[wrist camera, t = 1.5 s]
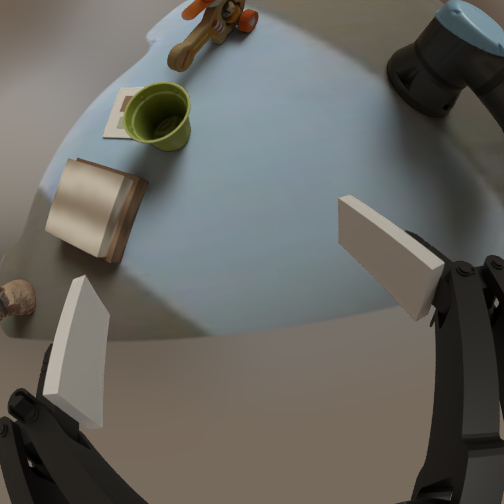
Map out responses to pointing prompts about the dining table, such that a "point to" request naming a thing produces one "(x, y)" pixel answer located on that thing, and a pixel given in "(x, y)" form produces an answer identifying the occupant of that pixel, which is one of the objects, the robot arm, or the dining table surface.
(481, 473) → the robot arm
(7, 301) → the figurine
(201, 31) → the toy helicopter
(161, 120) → the plant pot
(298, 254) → the dining table surface
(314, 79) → the dining table surface
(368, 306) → the dining table surface
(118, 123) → the page
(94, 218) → the stacked square slabs
